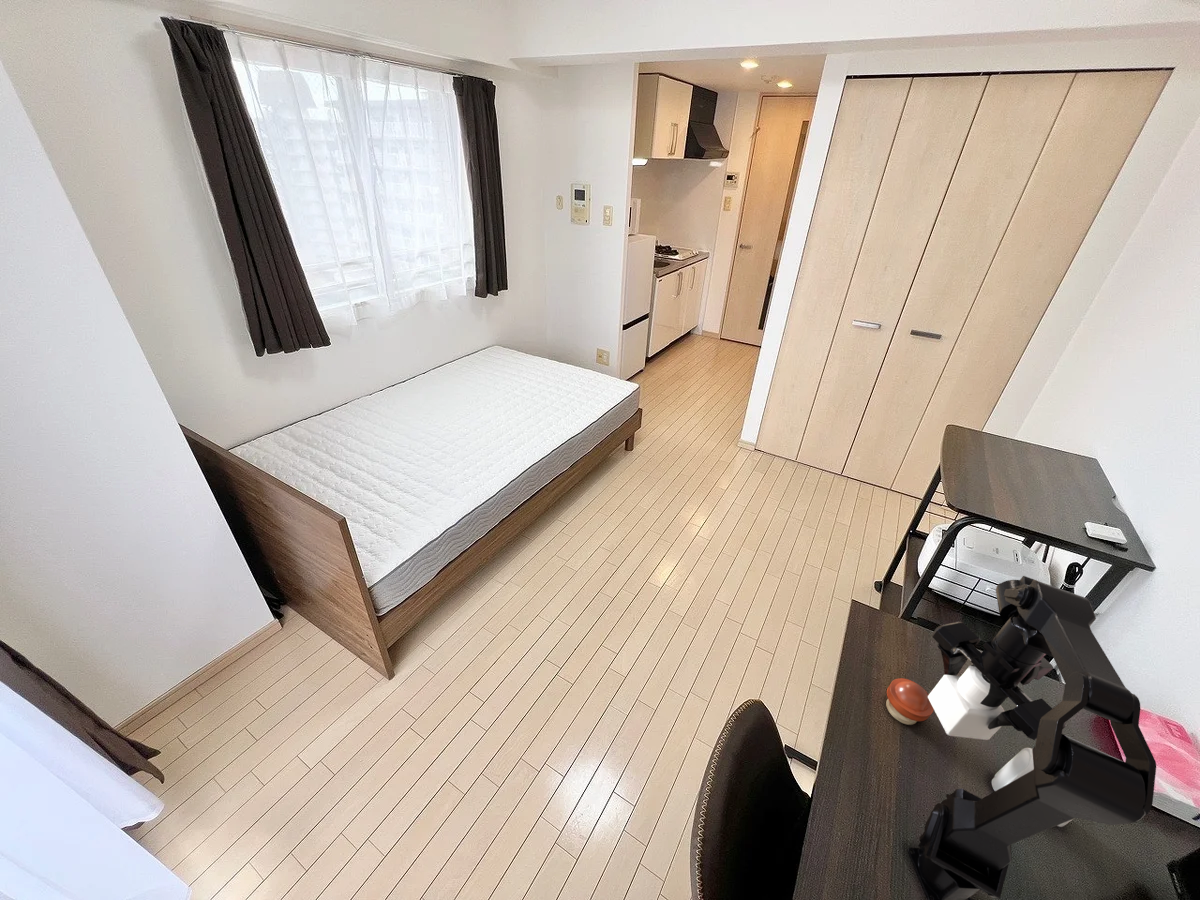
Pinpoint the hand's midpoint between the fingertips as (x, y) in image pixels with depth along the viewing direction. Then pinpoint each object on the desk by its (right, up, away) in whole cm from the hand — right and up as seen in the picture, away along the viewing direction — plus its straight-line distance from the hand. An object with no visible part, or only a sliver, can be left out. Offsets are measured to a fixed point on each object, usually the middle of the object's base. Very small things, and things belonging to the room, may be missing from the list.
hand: (968, 703), depth 83 cm
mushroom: (-4, -8, +12) cm, 15 cm away
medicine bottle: (0, -4, +2) cm, 5 cm away
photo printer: (+10, -17, 0) cm, 19 cm away
